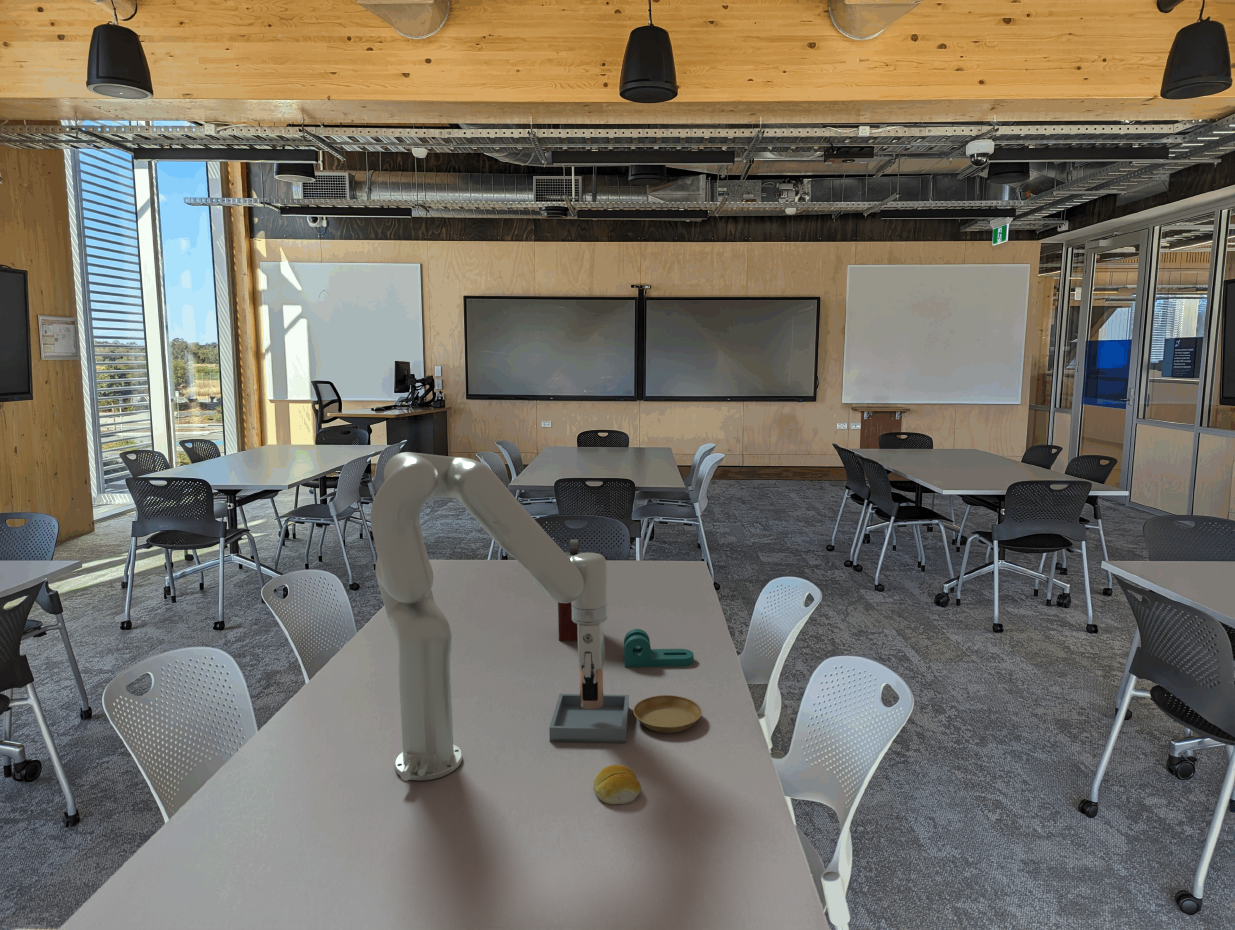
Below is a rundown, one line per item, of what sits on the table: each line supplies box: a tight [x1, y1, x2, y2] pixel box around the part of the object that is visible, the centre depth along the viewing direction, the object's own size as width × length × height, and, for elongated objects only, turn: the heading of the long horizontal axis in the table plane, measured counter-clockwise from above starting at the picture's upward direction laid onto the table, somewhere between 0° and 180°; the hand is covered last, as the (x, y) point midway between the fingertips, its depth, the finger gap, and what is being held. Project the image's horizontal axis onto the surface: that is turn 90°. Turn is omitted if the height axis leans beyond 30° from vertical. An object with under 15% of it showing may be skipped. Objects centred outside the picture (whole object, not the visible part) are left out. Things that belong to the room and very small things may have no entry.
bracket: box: [623, 628, 695, 668], centre depth 188 cm, size 18×7×8 cm, turn 91°
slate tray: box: [548, 693, 630, 744], centre depth 155 cm, size 16×16×3 cm
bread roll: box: [593, 764, 642, 806], centre depth 131 cm, size 8×9×4 cm
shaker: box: [578, 665, 604, 709], centre depth 154 cm, size 5×5×10 cm
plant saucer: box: [633, 694, 702, 734], centre depth 157 cm, size 15×15×3 cm
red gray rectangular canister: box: [557, 539, 590, 642], centre depth 206 cm, size 9×11×28 cm
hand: (591, 693), depth 155 cm, fingers closed on shaker, 5 cm apart
